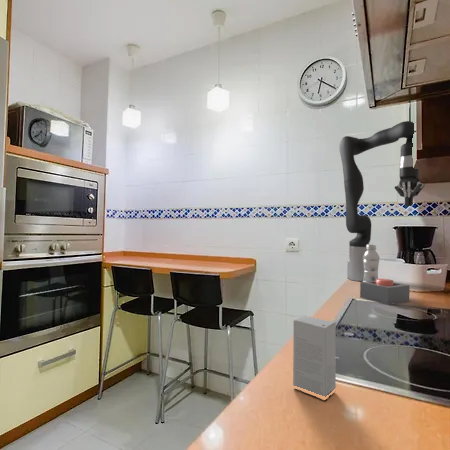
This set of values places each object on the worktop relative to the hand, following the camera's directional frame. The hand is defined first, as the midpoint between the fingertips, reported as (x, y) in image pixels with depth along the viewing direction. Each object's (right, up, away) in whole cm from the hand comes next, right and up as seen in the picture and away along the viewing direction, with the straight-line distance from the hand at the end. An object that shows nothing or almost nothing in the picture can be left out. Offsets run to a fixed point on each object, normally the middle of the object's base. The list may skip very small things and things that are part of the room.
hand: (408, 206), depth 140 cm
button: (-21, -35, -20) cm, 45 cm away
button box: (-21, -37, -20) cm, 47 cm away
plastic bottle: (-20, -37, -7) cm, 43 cm away
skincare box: (-67, -37, -86) cm, 115 cm away
